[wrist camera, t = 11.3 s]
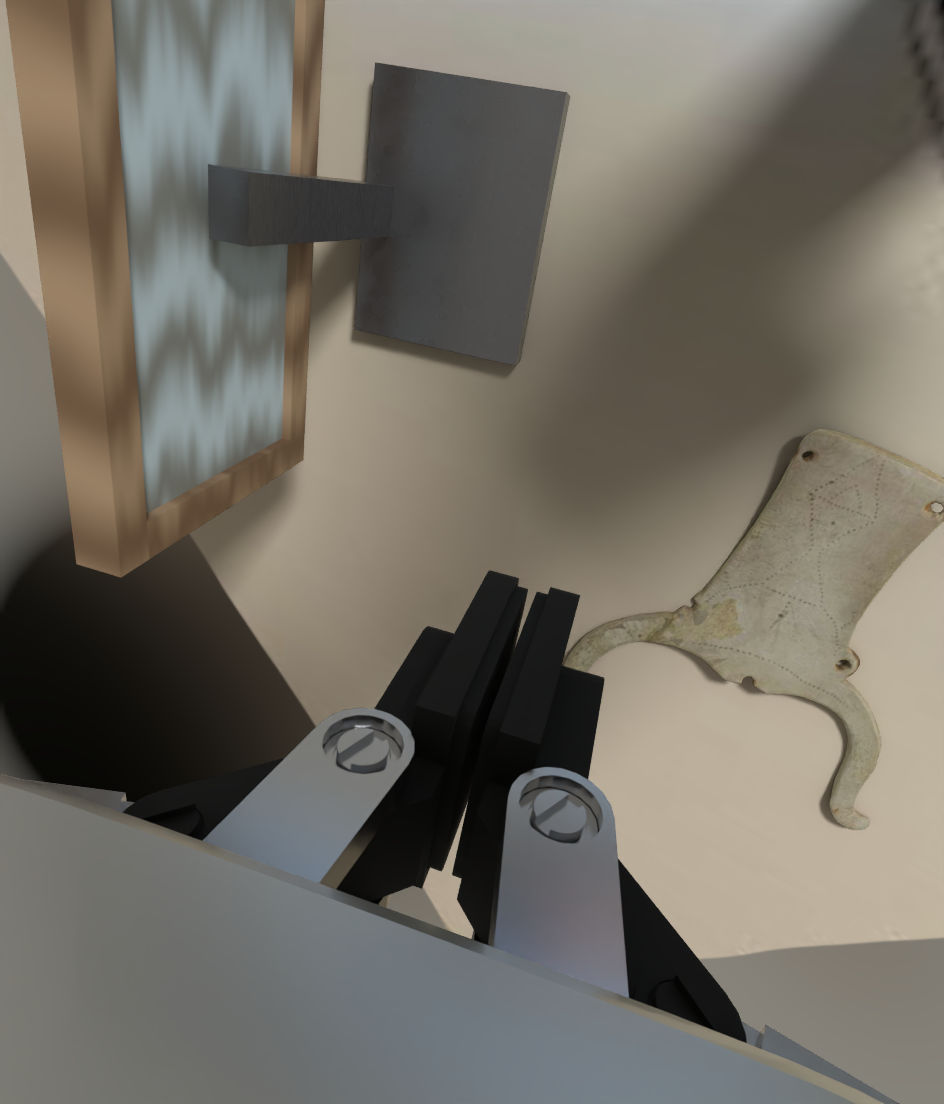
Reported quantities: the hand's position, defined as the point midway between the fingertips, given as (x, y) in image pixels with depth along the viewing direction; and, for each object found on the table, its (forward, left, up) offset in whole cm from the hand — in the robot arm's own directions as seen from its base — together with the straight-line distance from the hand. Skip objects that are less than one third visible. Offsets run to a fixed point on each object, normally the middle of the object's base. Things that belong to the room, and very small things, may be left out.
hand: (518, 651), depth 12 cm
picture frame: (-5, -21, -31) cm, 38 cm away
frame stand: (-5, -14, -39) cm, 42 cm away
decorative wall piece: (+18, +15, -40) cm, 46 cm away
